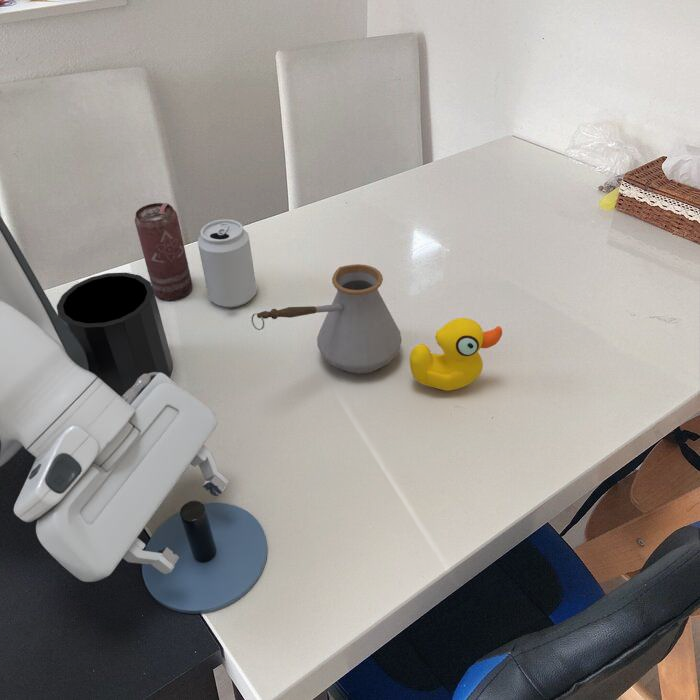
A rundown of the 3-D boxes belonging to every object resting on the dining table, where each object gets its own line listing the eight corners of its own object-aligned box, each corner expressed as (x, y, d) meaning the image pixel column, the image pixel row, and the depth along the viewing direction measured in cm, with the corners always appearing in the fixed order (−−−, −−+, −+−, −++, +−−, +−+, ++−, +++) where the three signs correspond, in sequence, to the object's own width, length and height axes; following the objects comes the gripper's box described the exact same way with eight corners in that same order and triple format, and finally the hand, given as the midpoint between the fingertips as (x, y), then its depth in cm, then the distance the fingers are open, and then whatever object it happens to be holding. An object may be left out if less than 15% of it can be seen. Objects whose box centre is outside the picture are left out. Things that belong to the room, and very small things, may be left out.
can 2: (201, 307, 104) (186, 239, 96) (220, 280, 109) (207, 213, 102) (247, 313, 102) (236, 244, 95) (264, 285, 108) (254, 218, 100)
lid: (158, 638, 64) (138, 591, 58) (134, 534, 72) (114, 485, 67) (285, 585, 67) (276, 537, 62) (246, 493, 76) (236, 444, 71)
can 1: (200, 281, 109) (183, 202, 100) (182, 304, 105) (163, 223, 96) (165, 276, 111) (146, 198, 102) (147, 298, 106) (125, 218, 97)
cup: (92, 413, 87) (62, 337, 79) (80, 360, 95) (52, 286, 87) (181, 386, 90) (161, 310, 82) (162, 337, 98) (143, 264, 90)
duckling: (490, 366, 91) (498, 306, 85) (499, 394, 87) (508, 333, 81) (406, 372, 91) (408, 312, 85) (411, 399, 87) (413, 339, 80)
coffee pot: (362, 319, 100) (360, 230, 90) (418, 356, 93) (422, 264, 84) (242, 387, 90) (225, 294, 80) (295, 434, 83) (283, 338, 73)
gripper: (138, 374, 72) (233, 458, 76) (-1, 527, 58) (124, 622, 61) (165, 351, 68) (264, 440, 71) (23, 509, 54) (155, 612, 57)
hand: (199, 526), depth 66 cm, fingers open, 8 cm apart
